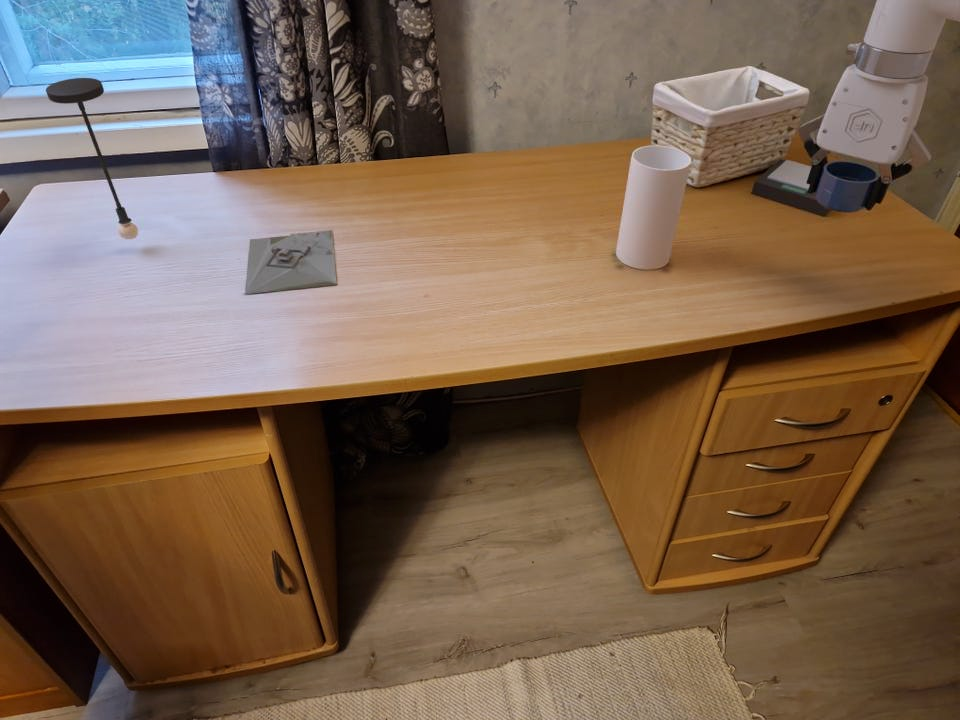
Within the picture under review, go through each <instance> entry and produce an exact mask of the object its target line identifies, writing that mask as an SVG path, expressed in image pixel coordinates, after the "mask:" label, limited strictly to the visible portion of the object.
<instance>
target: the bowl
mask: <svg viewBox="0 0 960 720" xmlns="http://www.w3.org/2000/svg"><path fill="white" fill-rule="evenodd" d="M880 176H881V175H880V172H879V171H877V170H876V168H873V167H871V166H869V165H867V164H865V163H860V162H857V161H852V160H833V161H828V163H826V164H825V165H824V166H823V169H822V172H821V175H820V178H819V181H818V184H817V187H816V190H815V193H814V195H815V199H816V200H817V201H818V203H819V204H820V205H822V206H823V207H825V208H827V209H830V211H834V212H838V213H847V214H851V213H858V212H860V211H862V210H866V208H865V206H866V204H867V201H868V199H869V196H870V194H871V191H872V189H873V186H874V184H875V182H876V181H877V179H878V178H879V177H880Z"/></svg>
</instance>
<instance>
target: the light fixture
mask: <svg viewBox="0 0 960 720" xmlns="http://www.w3.org/2000/svg"><path fill="white" fill-rule="evenodd" d="M45 92H46V95H47V97H48V100H49V101H51V102H52V103H56V104H63V105H65V104H77V106H78V108H79V111H80V112H81V115H82V118H83V121H84V123H85V125H86V128H87V131H88V133H89V134H88V135H89V136H90V138H91V141H92V144H93V147H94V150H95V152H96V155H97V157H98V159H99V160H98V161H99V163H100V165H101V168H102V170H103V173H104V175H105V179H106V181H107V183H108V187H109V189H110V191H111V192H110V193H111V194H112V197H113V199H114V202H115V205H116V208H115V212H116V215H117V217H118V224H119V226H118V229H117V230H118V234H119V236H120V237H121V238H122V239H123V240H133V239H135V238H137V236H138V234H139V229H138V226H137V225H136V224H134V223H133V222H132V219H131V218H130V217H129V216H128V214H127V210H126V208H125V207H124V206H122V204H121V201H120V200H119V197H118V194H117V192H116V189H115V187H114V183H113V181H112V178H111V175H110V172H109V170H108V168H107V165H106V162H105V160H104V157H103V154H102V152H101V149H100V146H99V143H98V141H97V138H96V135H95V133H94V130H93V128H92V125H91V122H90V120H89V119H90V118H89V117H88V114H87V111H86V108H85V104H84V103H85V102H89V101H92V100H95V99H97V98H99V97H101V96H102V95H103V94H104V93H105V89H104V86H103V83H102V81H101V79H97V78H92V77H75V78H68V79H63V80H59V81H57V82H54V83H51V84H50V85H48V86H47V87H46V88H45Z"/></svg>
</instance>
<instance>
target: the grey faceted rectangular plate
mask: <svg viewBox="0 0 960 720" xmlns="http://www.w3.org/2000/svg"><path fill="white" fill-rule="evenodd" d="M333 285H337V273H336V261H335V250H334V238H333V230H332V229H330V230H319V231H310V232H300V233H290V234H289V235H280V236H269V237H259V238H250V239H249V246H248V256H247V267H246V278H245V288H244V294H245V295H251V294H260V293H269V292H279V291H287V290H289V291H290V290H296V289H297V290H298V289H306V288H316V287H326V286H333Z"/></svg>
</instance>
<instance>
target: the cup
mask: <svg viewBox="0 0 960 720" xmlns="http://www.w3.org/2000/svg"><path fill="white" fill-rule="evenodd" d="M690 165H691V158H690V156H689V155H688V154H686V153H685V152H683V151H681V150H678V149H676V148H672V147H667V146H657V145H654V146H651V145H645V146H644V145H643V146H640V147H638V148H636V149H634V151H632V154H631V157H630V163H629V169H628V176H627V180H626V187H625V193H624V199H623V204H622V212H621V219H620V224H619V230H618V231H619V232H618V235H617V242H616V248H615V256H616V258H617V259H618V260H619V261H620V262H621V264H624V265H625V266H629V267H630V268H634V269H638V270H642V271H643V270H646V271H651V270H657V269H658V270H659V269H661V268H663V267H665V266H666V265H667V264H668V263H669V262H670V259H671V255H672V249H673V245H674V240H675V237H676V232H677V228H678V223H679V219H680V215H681V214H680V213H681V210H682V205H683V202H684V201H683V200H684V196H685V191H686V188H687V179H688V174H689V170H690Z"/></svg>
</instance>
